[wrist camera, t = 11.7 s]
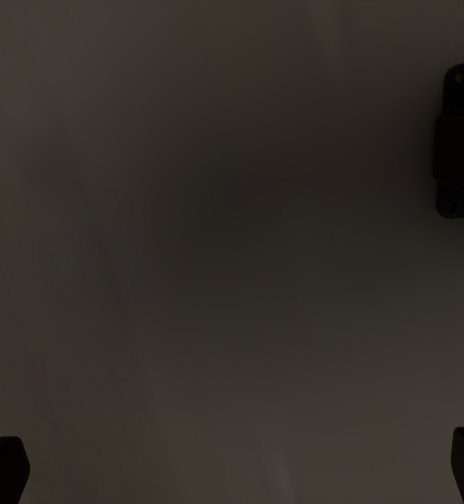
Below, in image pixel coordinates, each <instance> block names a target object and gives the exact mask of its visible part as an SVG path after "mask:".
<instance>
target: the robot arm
mask: <svg viewBox="0 0 464 504" xmlns="http://www.w3.org/2000/svg"><path fill="white" fill-rule="evenodd" d="M459 71H461V72H462V73H463V74H464V64H459V65H455V66H453V67H452V68H450V69H449V71H448V72H447V74H446V77H445V87H444V102H443V114H442V115H440V117H439V118H438V119H437V120H436V132H435V148H434V164H433V177H434V178H435V179H436V180H437V181H438V191H437V206H436V207H437V212H438V213H439V214H440V215H441V216H443V217H445V218H448V219H454V218H464V79H463V81H462V82H461V83H457V82H456V80H455V77H456V74H457V73H458V72H459ZM449 203H453V205H454V206H453V208H452V209H451V210H450V211H446V209H445V208H446V206H447V205H448V204H449ZM451 467H452V471H453V474H454V477H455V480H456V483H457V486H458V489H459V491H460V494H461V497H462V500H463V503H464V427H457V428H455V430H454V433H453V441H452V451H451ZM29 473H30V464H29V460H28V458H27V455H26V452H25V449H24V446H23V443H22V441H21V439H20V438H19V437H17V436H3V437H0V504H18V503H19V500H20V498H21V495H22V493H23V490H24V488H25V485H26V483H27V480H28V477H29Z"/></svg>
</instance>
